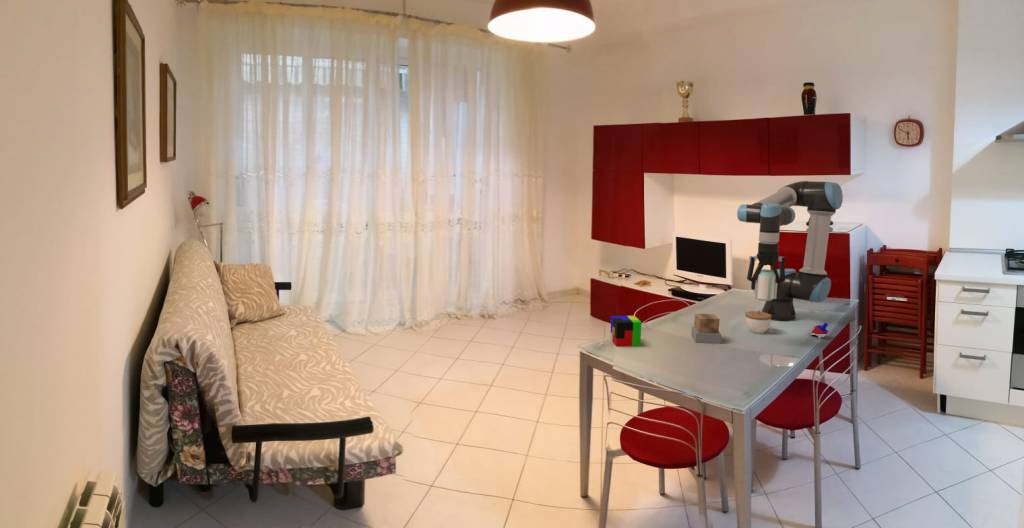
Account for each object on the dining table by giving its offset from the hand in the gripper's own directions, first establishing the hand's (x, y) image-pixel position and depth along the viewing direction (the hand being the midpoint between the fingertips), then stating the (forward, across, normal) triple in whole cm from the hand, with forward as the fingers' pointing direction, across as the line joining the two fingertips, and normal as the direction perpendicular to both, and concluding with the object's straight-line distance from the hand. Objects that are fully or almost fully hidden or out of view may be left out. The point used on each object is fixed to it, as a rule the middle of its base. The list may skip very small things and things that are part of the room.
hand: (764, 297), depth 256 cm
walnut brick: (+15, +22, -1) cm, 27 cm away
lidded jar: (+19, -3, -16) cm, 25 cm away
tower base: (+19, +22, -1) cm, 29 cm away
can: (+1, 0, 0) cm, 1 cm away
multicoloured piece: (+20, -27, -10) cm, 34 cm away
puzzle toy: (+19, +56, +7) cm, 60 cm away
